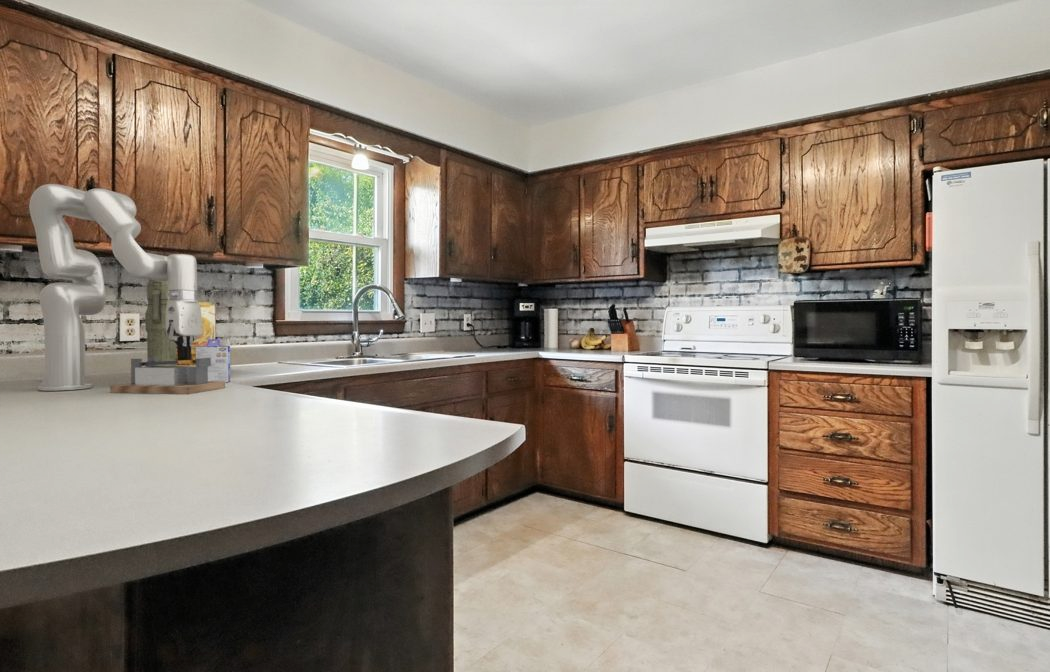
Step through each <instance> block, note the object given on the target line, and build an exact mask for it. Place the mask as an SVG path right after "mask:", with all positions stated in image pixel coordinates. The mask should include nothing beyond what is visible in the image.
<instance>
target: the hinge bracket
mask: <svg viewBox="0 0 1050 672" xmlns="http://www.w3.org/2000/svg"><path fill="white" fill-rule="evenodd" d="M146 359H147V361H146V362H150V361H151V362H158V357H148V358H146ZM142 362H143V358H139V357H137V358H134V357H133V358H131V359H130V371H131V372H130V379H131V384H135V368H137V367H143V366H142ZM148 366H158V365H148Z"/></svg>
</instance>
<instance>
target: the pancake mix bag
mask: <svg viewBox="0 0 1050 672" xmlns="http://www.w3.org/2000/svg"><path fill="white" fill-rule="evenodd" d="M198 302H199V305H200V309H201V316H202V327H203V333H202V334H201V335H198V339H196V340H194V341H193V345H192V346H191V360H193V359H196V347H197V346H207V342H208V339H216V332H217V317H216V316H217V307H216V304H214V303H213V304H212V302H213V301H208V300H202V301H201V300H198ZM181 339H182V338H181ZM209 343H216V341H210V342H209ZM176 361H179V360H178V357H177V347H176ZM177 365H196V363H185V364H177Z"/></svg>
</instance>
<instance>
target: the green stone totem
mask: <svg viewBox="0 0 1050 672" xmlns="http://www.w3.org/2000/svg"><path fill="white" fill-rule="evenodd" d="M146 285H147V287H146V288H147V291H146V292H147V295H146V296H147V308H146V312H145V313H144V314H145V317H144V318H145V319H144V321H145V324H144V325H145V330H146V333H147V334H146V340H147V343H146V344H147V346H146V347H147V350H146V351H147V352H146V353H147V354H146V355H147V356H146V357H147V358H148V357H158V362H160V361H176V345H175V342H174V341H171V340H169V335H168V334H167V333H166V308H167V302H168V288H167V281H156V280H149V279H148V282H147V284H146ZM147 358H146V359H147ZM161 365H177V364H161ZM158 366H159V365H158ZM145 367H148V365H147V366H145Z"/></svg>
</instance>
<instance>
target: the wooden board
mask: <svg viewBox="0 0 1050 672" xmlns="http://www.w3.org/2000/svg"><path fill="white" fill-rule="evenodd" d="M109 387H110V388H109V389H110V390H109V391H110V393H111V394H155V395H156V394H160V395H161V394H164V395H165V394H167V395H193V394H198V393H203V392H204V393H205V392H209V391H215V390H222V389H226V382H225V381H208V383H205V384H198V385H189V384H184V385H177V386H150V385H135V384H131V383H121V384H112V385H110V386H109Z"/></svg>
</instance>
